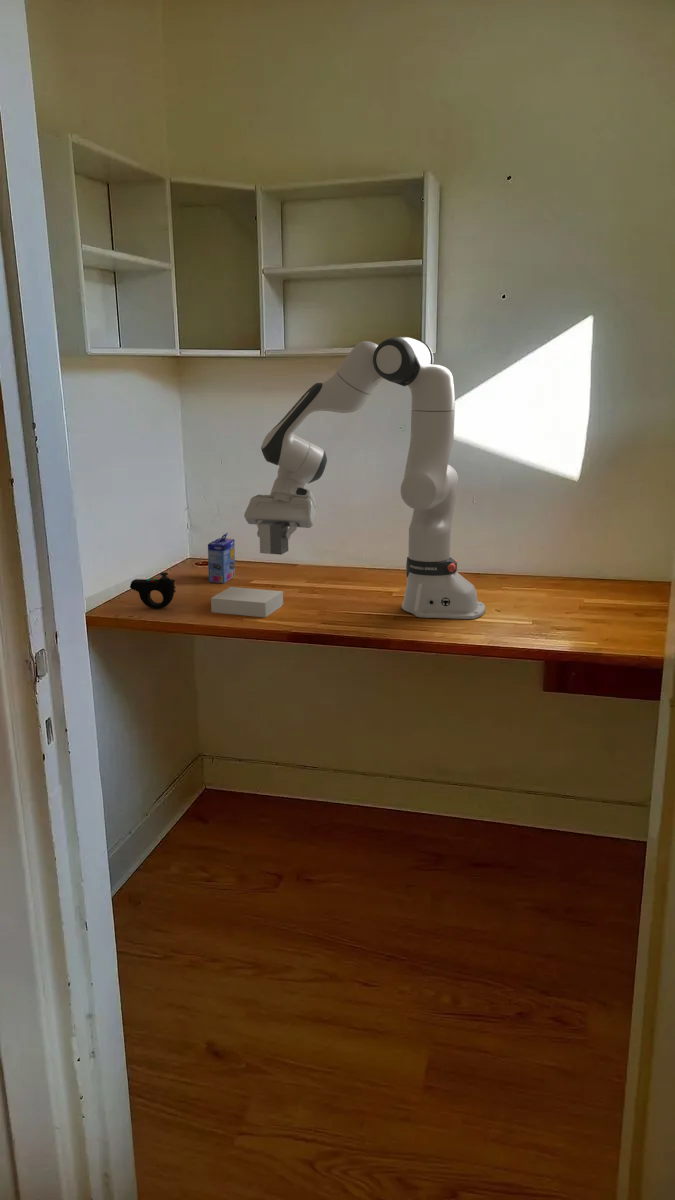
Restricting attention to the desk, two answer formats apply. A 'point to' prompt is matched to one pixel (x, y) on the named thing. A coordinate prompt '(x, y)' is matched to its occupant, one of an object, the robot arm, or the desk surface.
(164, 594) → the controller
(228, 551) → the ink cartridge box
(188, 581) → the desk surface
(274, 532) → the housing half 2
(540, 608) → the desk surface
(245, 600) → the stand
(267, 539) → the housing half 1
